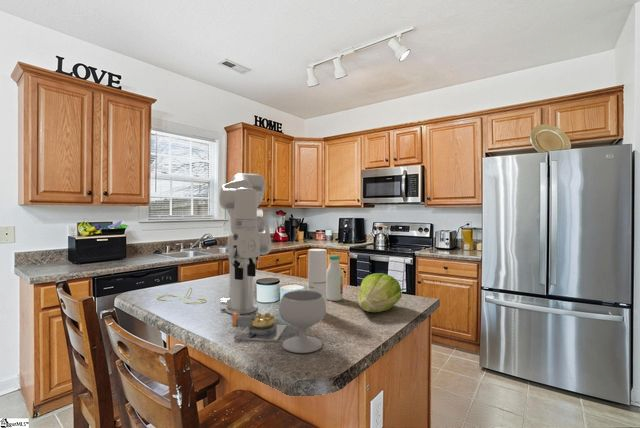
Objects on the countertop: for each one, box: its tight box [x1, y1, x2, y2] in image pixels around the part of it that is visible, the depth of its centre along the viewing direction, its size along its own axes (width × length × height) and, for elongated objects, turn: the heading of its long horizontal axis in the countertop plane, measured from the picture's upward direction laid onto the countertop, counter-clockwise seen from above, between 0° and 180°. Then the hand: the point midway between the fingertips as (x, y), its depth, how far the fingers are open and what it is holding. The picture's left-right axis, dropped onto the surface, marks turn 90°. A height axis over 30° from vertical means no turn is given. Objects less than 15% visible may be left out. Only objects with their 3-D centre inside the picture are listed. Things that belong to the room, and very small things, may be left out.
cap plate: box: [235, 322, 287, 343], centre depth 106 cm, size 13×13×2 cm
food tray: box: [231, 312, 275, 329], centre depth 105 cm, size 14×8×4 cm, turn 98°
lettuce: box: [357, 272, 402, 313], centre depth 130 cm, size 17×24×14 cm
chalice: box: [278, 290, 327, 354], centre depth 96 cm, size 14×14×15 cm
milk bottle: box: [326, 254, 344, 302], centre depth 148 cm, size 8×8×20 cm
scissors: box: [157, 287, 207, 304], centre depth 146 cm, size 25×10×5 cm, turn 70°
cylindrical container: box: [307, 248, 328, 305], centre depth 127 cm, size 7×7×25 cm
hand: (245, 277), depth 109 cm, fingers open, 5 cm apart
